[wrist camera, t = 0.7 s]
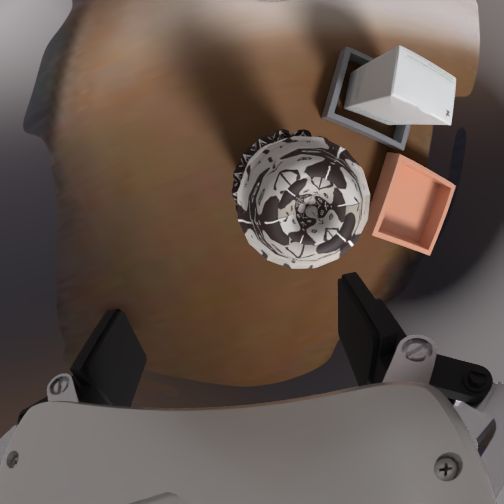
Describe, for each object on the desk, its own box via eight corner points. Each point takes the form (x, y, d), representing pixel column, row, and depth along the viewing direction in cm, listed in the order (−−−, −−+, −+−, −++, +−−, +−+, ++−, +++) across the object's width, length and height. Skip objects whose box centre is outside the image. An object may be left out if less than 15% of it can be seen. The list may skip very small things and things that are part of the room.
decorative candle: (296, 130, 35) (378, 115, 12) (308, 193, 39) (390, 269, 16) (232, 143, 36) (207, 141, 13) (246, 206, 39) (247, 301, 16)
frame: (339, 51, 30) (346, 45, 28) (409, 86, 32) (419, 84, 29) (321, 118, 35) (326, 116, 32) (394, 149, 36) (403, 150, 33)
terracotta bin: (386, 152, 36) (399, 153, 33) (441, 181, 38) (455, 185, 34) (361, 226, 41) (371, 235, 37) (417, 246, 42) (429, 255, 39)
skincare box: (395, 91, 32) (459, 77, 18) (388, 128, 35) (453, 129, 20) (347, 71, 32) (399, 40, 17) (339, 110, 34) (392, 95, 20)
